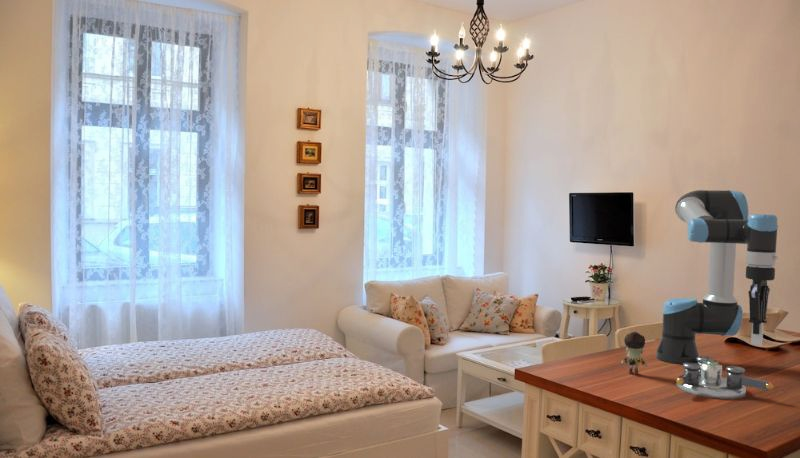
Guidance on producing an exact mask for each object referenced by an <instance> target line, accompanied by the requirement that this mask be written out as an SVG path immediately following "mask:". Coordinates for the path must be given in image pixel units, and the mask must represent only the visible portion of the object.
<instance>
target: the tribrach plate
mask: <svg viewBox="0 0 800 458" xmlns="http://www.w3.org/2000/svg"><path fill="white" fill-rule="evenodd" d="M722 372H723V364H720V363H718V364H717V363H716V362H713V361H707V362H703V363H701V377H700V376H699V384H698V385H691V384H684V385H683V386H682V385H678V384H677V383H676V387H678V389H680V390H681V391H683V392H685V393H689V394H692V395H695V396H700V397H704V398H708V399H709V398H710V399H717V400H736V399H737V400H739V399H742V398H745V397H746V394H747V386H744V385H742V389H734V388H730V387H727V377H723V376H722V375H723V373H722Z"/></svg>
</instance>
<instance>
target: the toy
mask: <svg viewBox="0 0 800 458" xmlns="http://www.w3.org/2000/svg"><path fill="white" fill-rule="evenodd" d="M645 344H646V338H645V336H644V335H642V334H640V333H639V332H638V331H632V332H630V333H628V334H626V336H625V337H624V345H625V353H626V354H627V355H626V357H624V358H623V359H622V360H621V362H620V364H622V365H623V364H626V365H628V366H629V370H628V371H629V374H630V375H632V374H633V373H634V374H635V375H638V374H639V370H638V369H639V367H638V366H640V365H639V363H641V365H642V366H643V367H645V368H647V367H648V364H647V363H646V362H645V360H644V359H643V358H642V357H641V355H643V354H644V353H643V352H644V351H645V350H644V347H645ZM633 367H634V369H633ZM633 371H634V372H633Z"/></svg>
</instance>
